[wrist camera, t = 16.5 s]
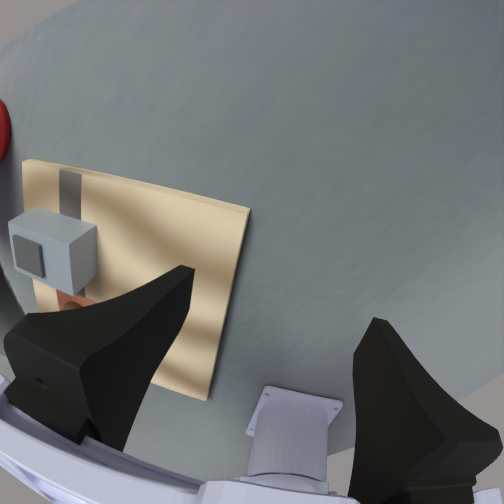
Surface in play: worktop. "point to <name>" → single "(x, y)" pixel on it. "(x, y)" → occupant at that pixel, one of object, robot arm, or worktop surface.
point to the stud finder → (54, 249)
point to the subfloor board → (148, 254)
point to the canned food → (4, 130)
